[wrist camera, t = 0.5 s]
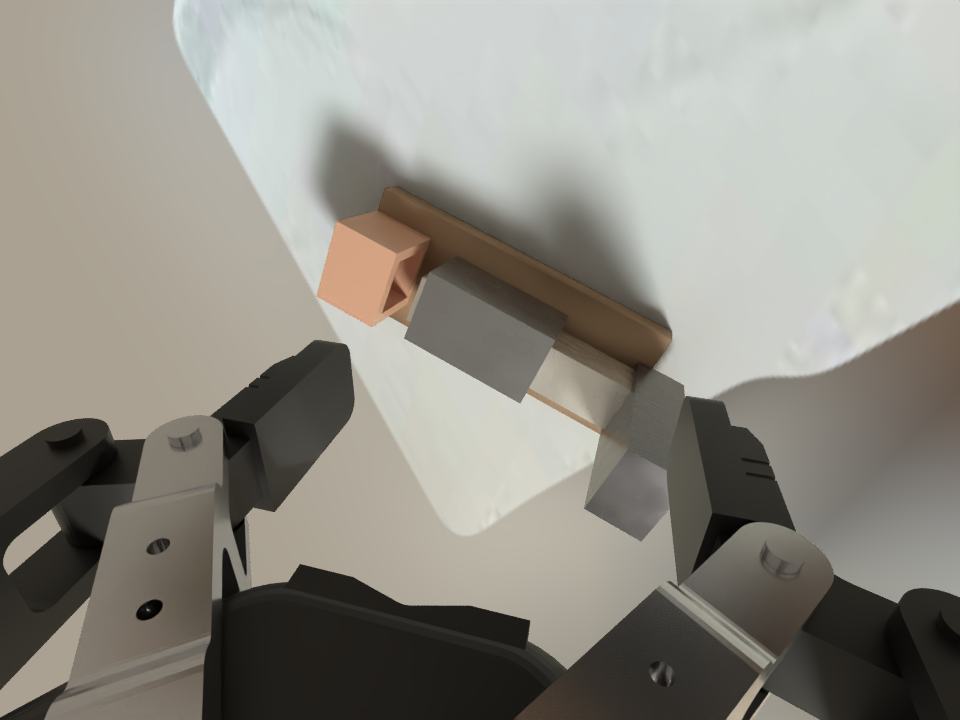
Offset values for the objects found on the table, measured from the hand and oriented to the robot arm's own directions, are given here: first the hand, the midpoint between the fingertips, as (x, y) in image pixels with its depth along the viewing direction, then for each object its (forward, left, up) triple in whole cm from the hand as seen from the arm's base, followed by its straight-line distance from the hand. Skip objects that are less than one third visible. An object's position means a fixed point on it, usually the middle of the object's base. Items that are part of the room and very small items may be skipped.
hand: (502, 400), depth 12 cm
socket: (+7, -12, -20) cm, 24 cm away
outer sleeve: (+7, -4, -20) cm, 21 cm away
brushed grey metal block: (+7, 0, -20) cm, 21 cm away
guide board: (+7, -3, -21) cm, 23 cm away
